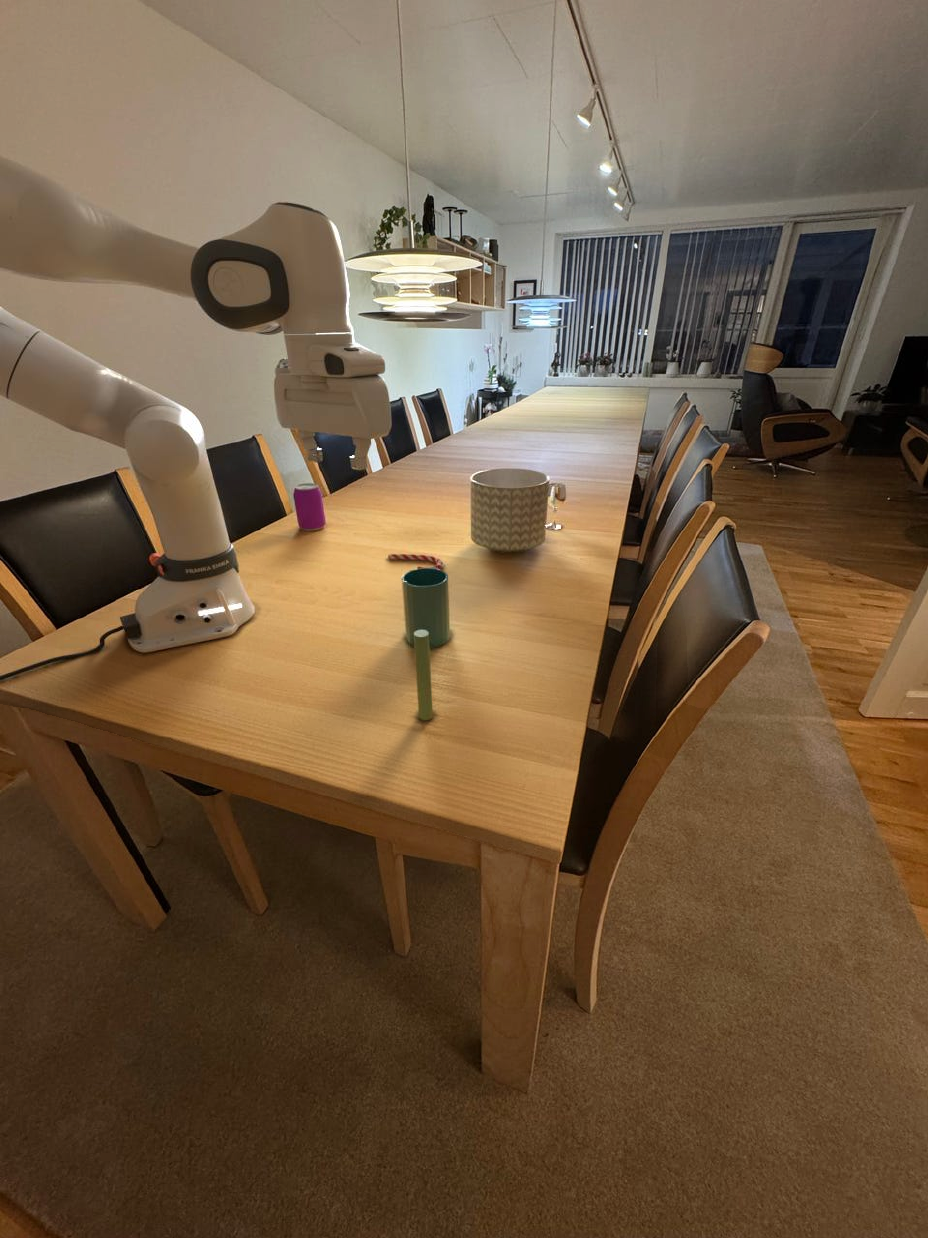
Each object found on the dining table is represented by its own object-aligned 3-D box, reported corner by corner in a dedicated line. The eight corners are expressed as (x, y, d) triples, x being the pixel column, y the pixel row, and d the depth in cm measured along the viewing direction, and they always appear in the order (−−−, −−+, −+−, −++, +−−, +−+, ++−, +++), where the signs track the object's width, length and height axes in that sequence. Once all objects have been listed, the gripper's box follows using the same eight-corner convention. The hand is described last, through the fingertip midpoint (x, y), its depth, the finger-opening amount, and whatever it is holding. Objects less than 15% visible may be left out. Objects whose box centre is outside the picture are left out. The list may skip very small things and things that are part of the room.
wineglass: (557, 522, 150) (561, 481, 144) (567, 528, 146) (571, 486, 140) (539, 524, 149) (542, 483, 143) (548, 531, 144) (552, 488, 138)
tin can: (420, 653, 90) (416, 591, 84) (398, 634, 95) (393, 574, 90) (458, 639, 94) (457, 579, 88) (434, 621, 99) (432, 564, 94)
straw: (423, 722, 74) (418, 638, 67) (416, 715, 75) (410, 632, 68) (435, 717, 75) (431, 634, 68) (428, 709, 76) (423, 628, 69)
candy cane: (394, 549, 129) (448, 557, 124) (395, 554, 130) (448, 562, 125) (378, 560, 123) (434, 570, 118) (378, 565, 124) (434, 575, 118)
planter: (481, 532, 143) (482, 466, 135) (549, 538, 139) (554, 470, 130) (461, 557, 128) (460, 484, 119) (537, 565, 123) (542, 490, 114)
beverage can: (316, 532, 144) (310, 490, 139) (293, 530, 147) (286, 488, 141) (331, 524, 151) (325, 483, 145) (308, 521, 153) (302, 481, 147)
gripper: (255, 359, 72) (274, 461, 78) (358, 361, 61) (370, 478, 68) (292, 357, 76) (307, 453, 83) (394, 358, 65) (402, 469, 72)
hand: (336, 465), depth 75 cm, fingers open, 8 cm apart
